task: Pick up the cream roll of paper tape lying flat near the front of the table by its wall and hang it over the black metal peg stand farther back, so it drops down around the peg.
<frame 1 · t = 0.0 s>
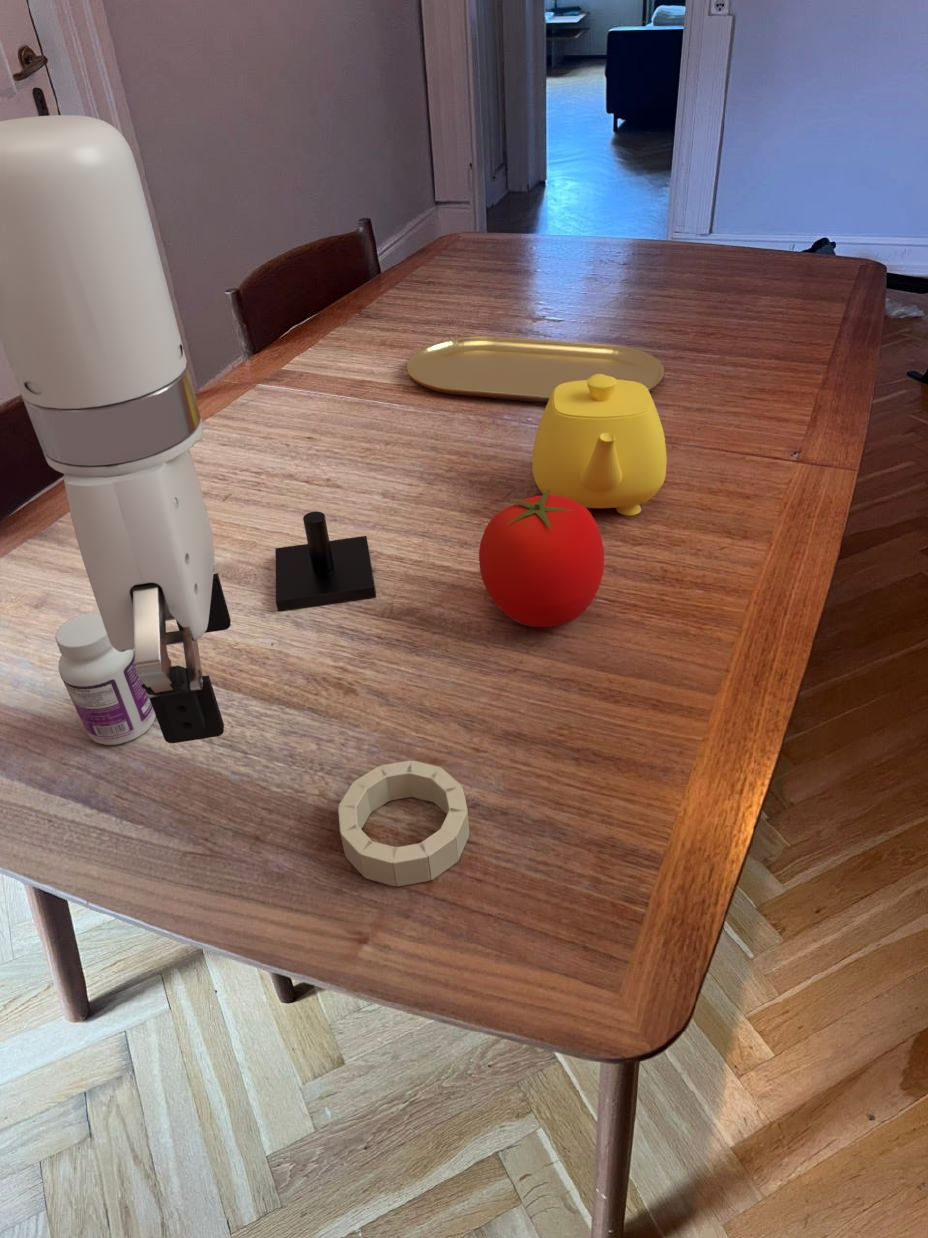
hand: (201, 679, 53), 13 cm above the table, tool pointing down, fingers open, 9 cm apart
tomato: (543, 611, 79), on the table
teapot: (597, 502, 93), on the table
peg stand: (325, 577, 85), on the table
pill bottle: (123, 725, 70), on the table
serving platter: (532, 377, 120), on the table
tape roll: (406, 832, 60), on the table
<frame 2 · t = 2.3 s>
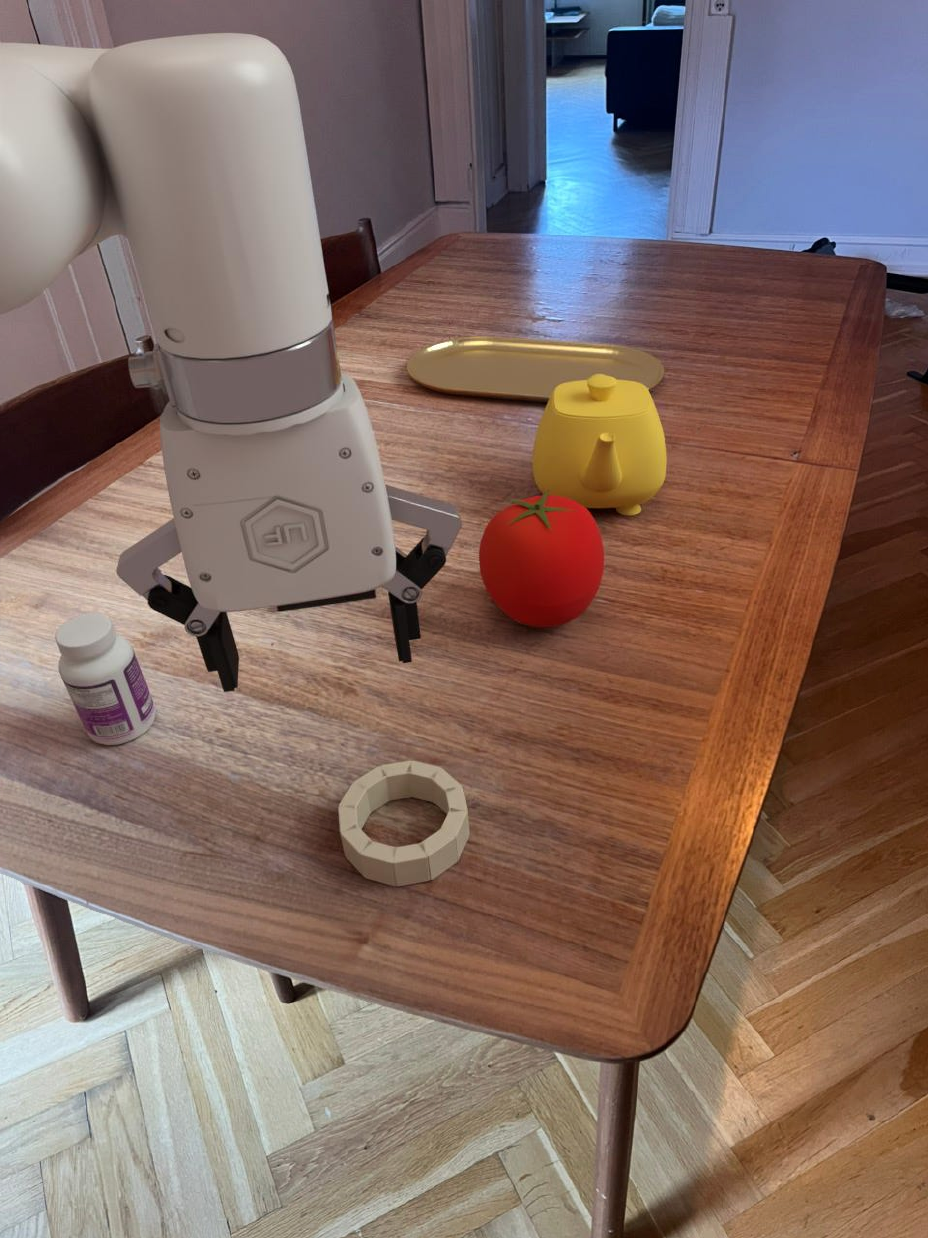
hand: (318, 661, 50), 16 cm above the table, tool pointing down, fingers open, 9 cm apart
nothing on the table moved.
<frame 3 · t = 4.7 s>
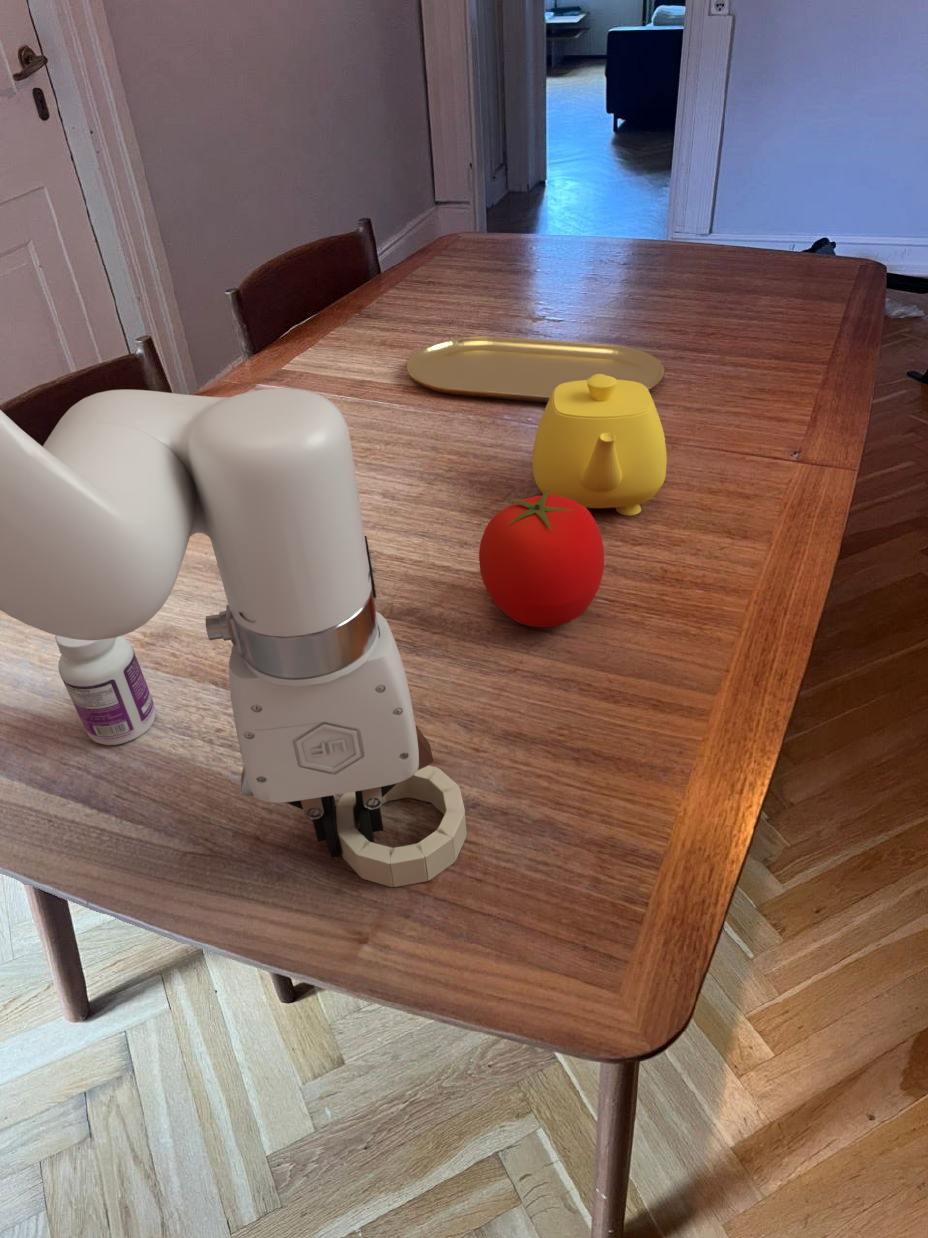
hand: (351, 836, 59), 1 cm above the table, tool pointing down, fingers closed on tape roll
tape roll: (403, 833, 60), on the table, touching gripper
everything else where it was.
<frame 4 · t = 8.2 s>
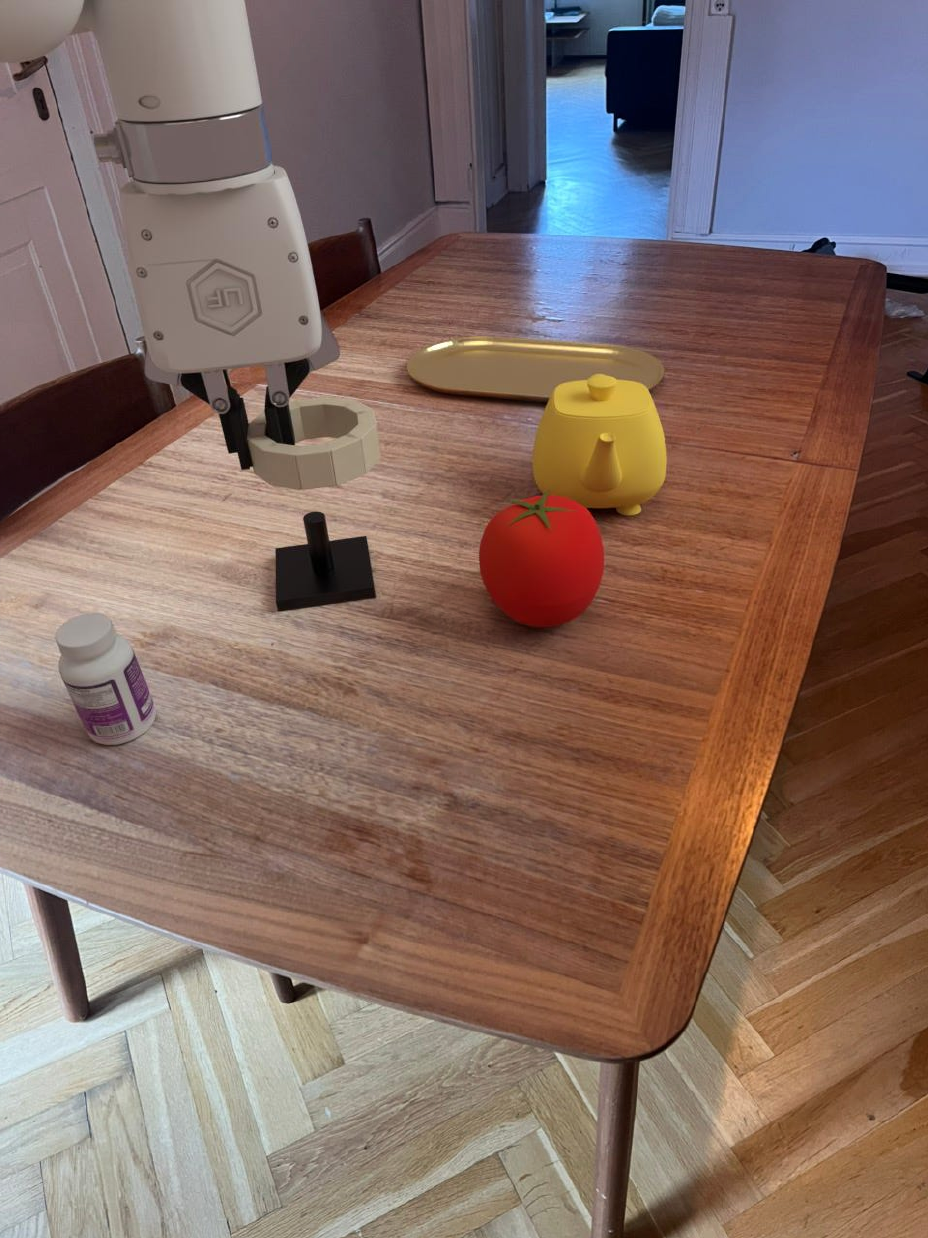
hand: (264, 456, 59), 21 cm above the table, tool pointing down, fingers closed on tape roll, 1 cm apart
tape roll: (317, 458, 59), point 21 cm above the table, touching gripper
everything else where it was.
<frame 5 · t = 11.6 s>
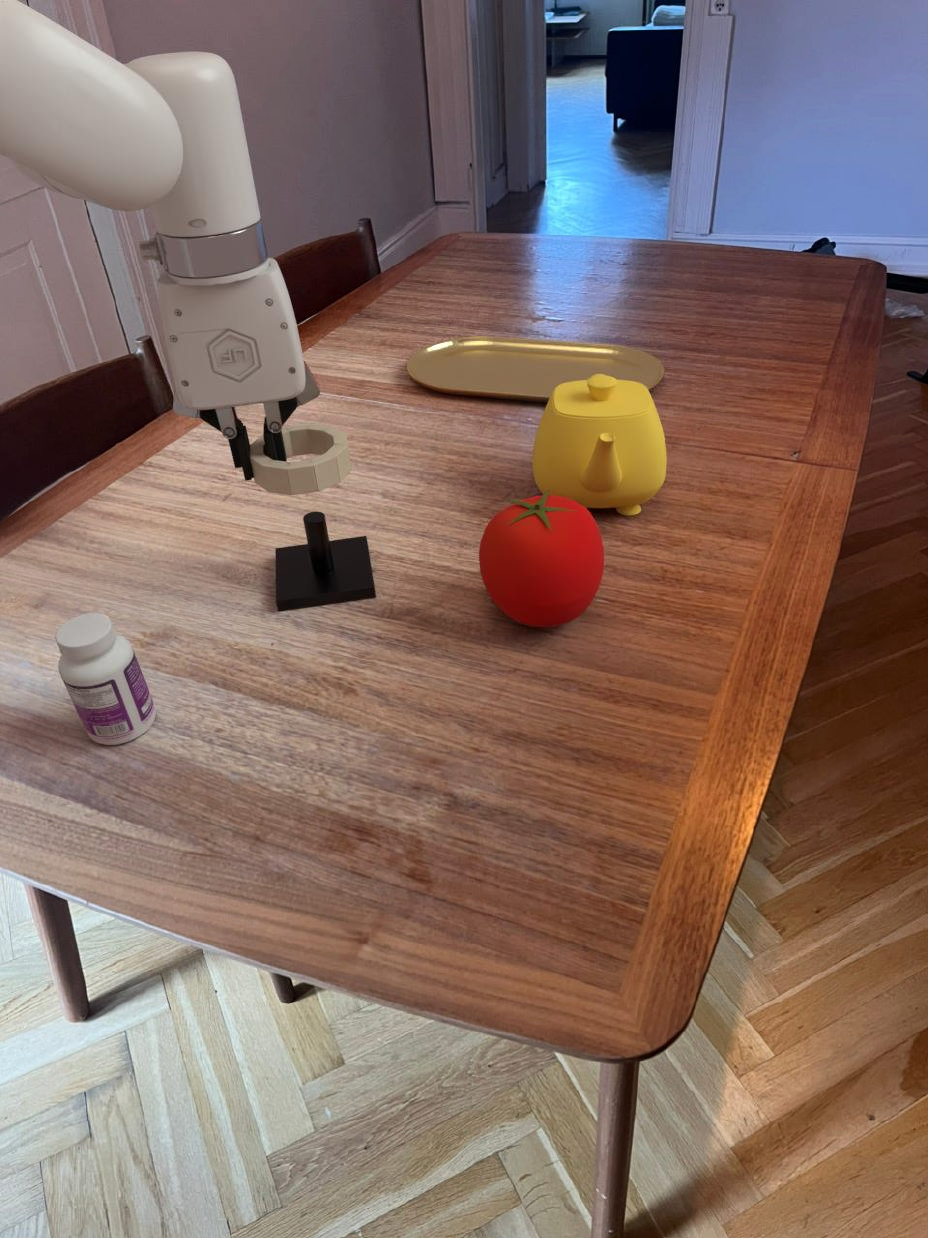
hand: (262, 469, 77), 12 cm above the table, tool pointing down, fingers closed on tape roll
tape roll: (303, 470, 78), point 11 cm above the table, touching gripper
everything else where it was.
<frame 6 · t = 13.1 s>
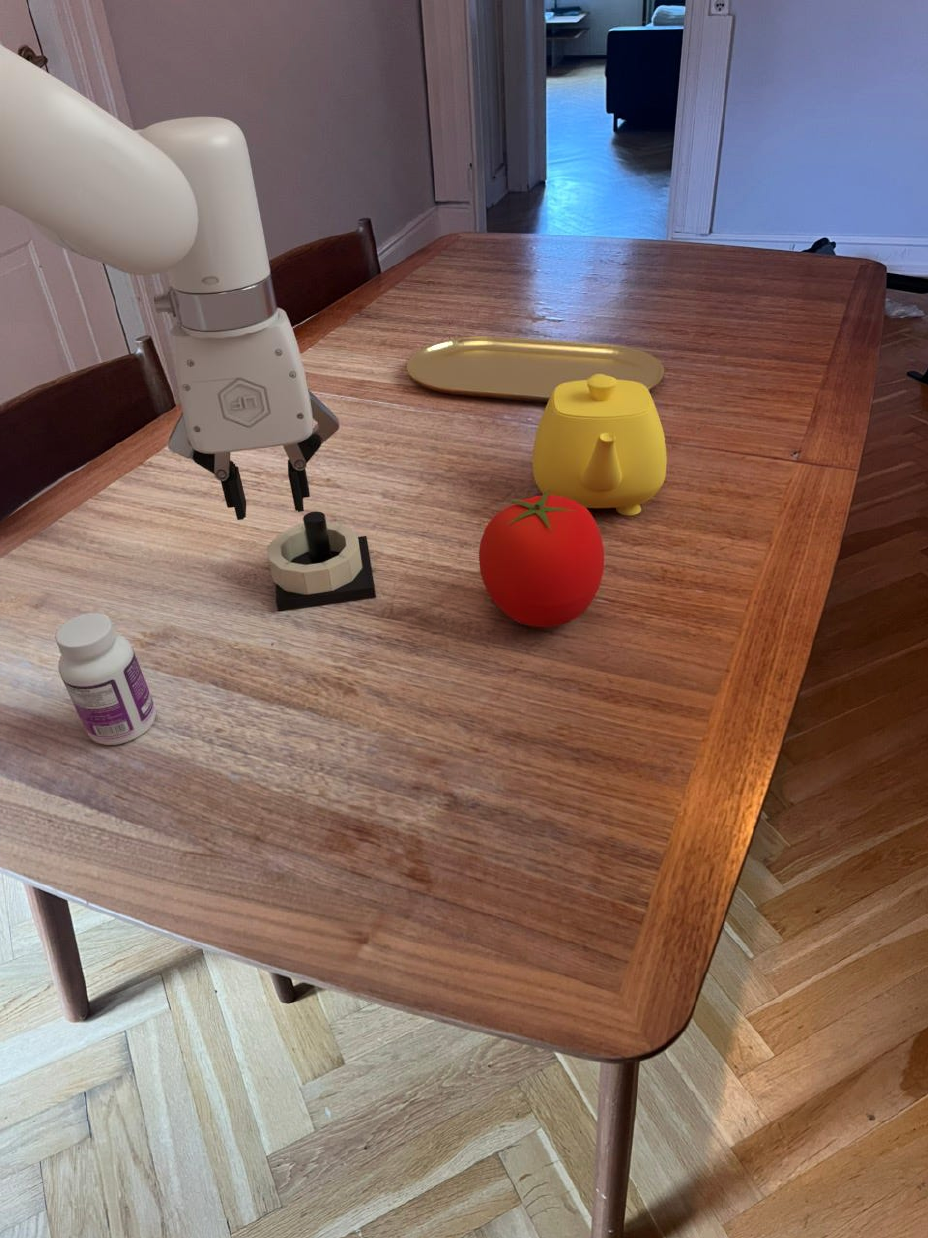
hand: (270, 506, 79), 8 cm above the table, tool pointing down, fingers open, 4 cm apart
tape roll: (317, 567, 84), point 1 cm above the table, touching peg stand
everything else where it was.
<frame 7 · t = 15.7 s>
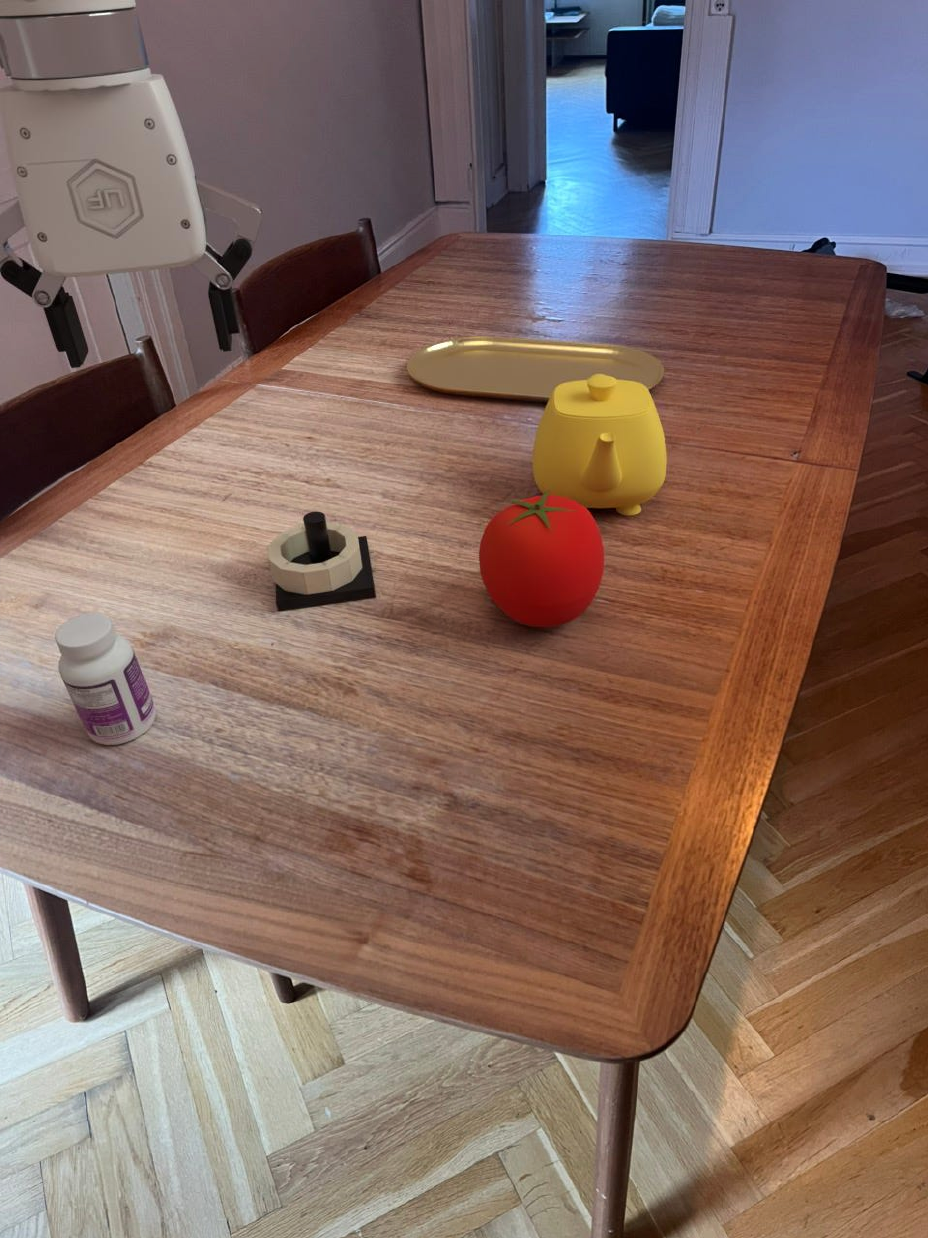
hand: (154, 352, 60), 27 cm above the table, tool pointing down, fingers open, 9 cm apart
nothing on the table moved.
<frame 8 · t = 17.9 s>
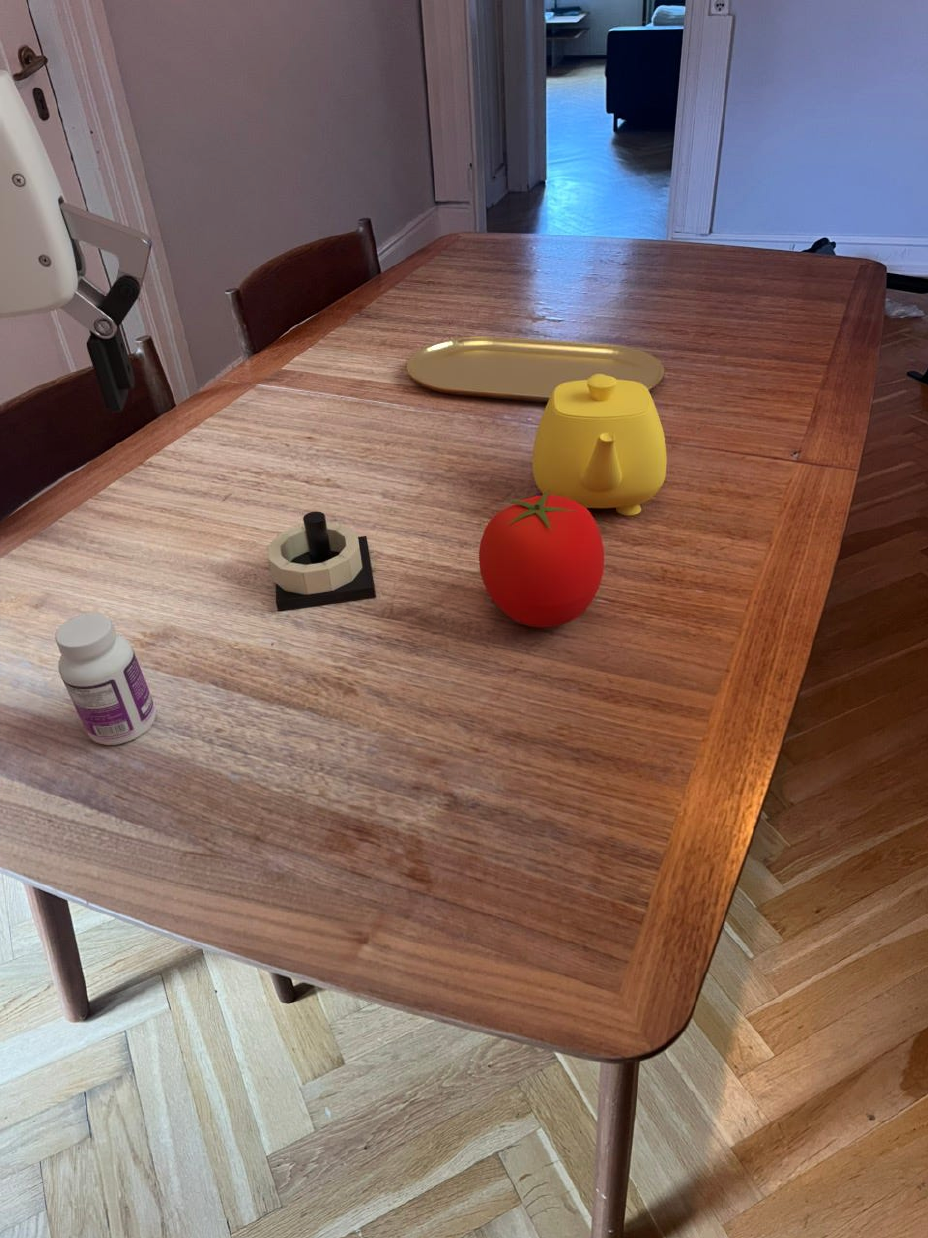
hand: (29, 412, 49), 28 cm above the table, tool pointing down, fingers open, 9 cm apart
nothing on the table moved.
at the end: tape roll 0.5 cm from the peg stand (horizontally); tape roll point 1.2 cm above the table; the gripper is holding nothing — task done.
